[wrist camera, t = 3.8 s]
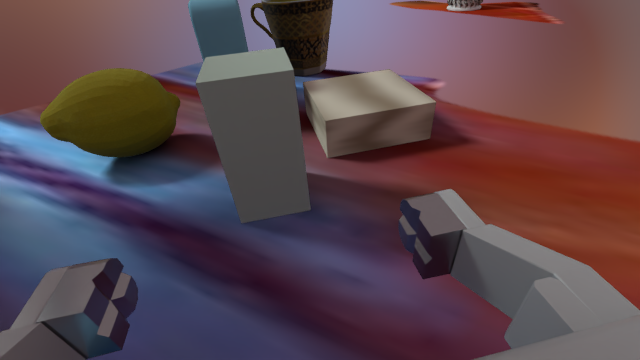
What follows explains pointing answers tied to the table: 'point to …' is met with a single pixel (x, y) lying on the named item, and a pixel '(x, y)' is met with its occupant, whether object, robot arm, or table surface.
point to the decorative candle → (464, 5)
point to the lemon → (113, 113)
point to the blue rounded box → (218, 27)
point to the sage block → (257, 131)
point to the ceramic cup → (299, 31)
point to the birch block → (367, 112)
